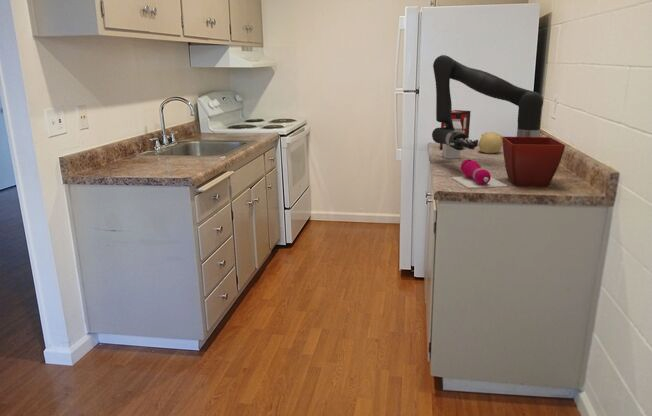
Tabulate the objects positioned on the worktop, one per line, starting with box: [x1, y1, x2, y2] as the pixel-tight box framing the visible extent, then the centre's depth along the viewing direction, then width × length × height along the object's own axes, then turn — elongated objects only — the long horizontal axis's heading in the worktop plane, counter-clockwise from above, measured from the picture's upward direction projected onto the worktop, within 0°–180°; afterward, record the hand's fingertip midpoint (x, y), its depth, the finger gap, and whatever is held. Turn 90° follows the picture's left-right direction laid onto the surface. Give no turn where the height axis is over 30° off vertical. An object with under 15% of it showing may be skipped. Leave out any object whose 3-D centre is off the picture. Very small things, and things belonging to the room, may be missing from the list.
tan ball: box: [478, 131, 504, 154], centre depth 262 cm, size 12×12×11 cm
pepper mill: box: [460, 158, 492, 185], centre depth 201 cm, size 7×7×20 cm
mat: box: [450, 175, 509, 189], centre depth 201 cm, size 18×16×1 cm
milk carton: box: [441, 119, 462, 159], centre depth 250 cm, size 7×7×19 cm
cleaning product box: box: [439, 109, 472, 151], centre depth 274 cm, size 16×9×20 cm, turn 141°
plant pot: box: [502, 136, 566, 187], centre depth 198 cm, size 19×19×17 cm
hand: (472, 146), depth 205 cm, fingers closed
